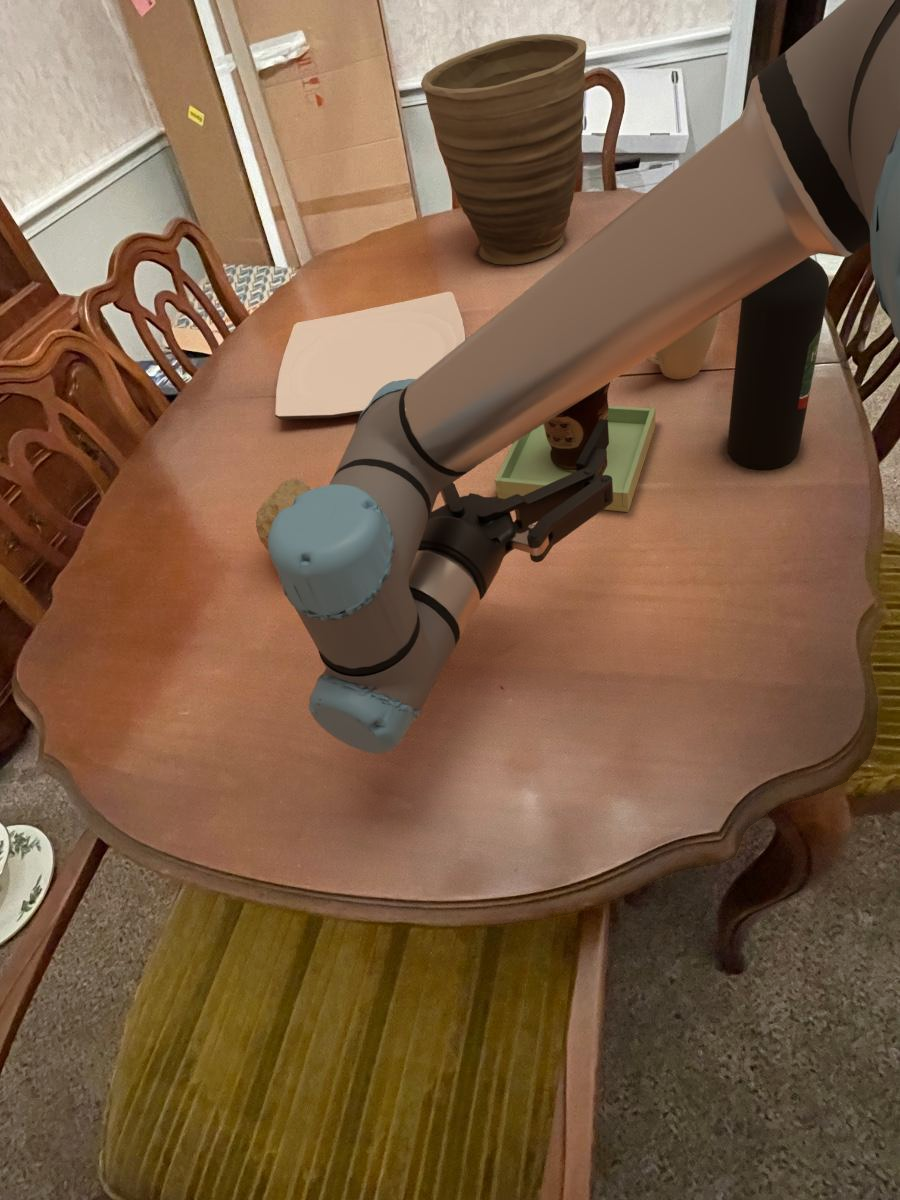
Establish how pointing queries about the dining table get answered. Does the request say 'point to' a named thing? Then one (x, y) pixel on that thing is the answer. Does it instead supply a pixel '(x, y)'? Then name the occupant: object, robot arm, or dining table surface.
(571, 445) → the coffee cup
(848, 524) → the dining table surface
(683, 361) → the mug
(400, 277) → the dining table surface
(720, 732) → the dining table surface
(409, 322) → the plate
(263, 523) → the tan rock
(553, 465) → the tray
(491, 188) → the vase
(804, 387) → the wine bottle
